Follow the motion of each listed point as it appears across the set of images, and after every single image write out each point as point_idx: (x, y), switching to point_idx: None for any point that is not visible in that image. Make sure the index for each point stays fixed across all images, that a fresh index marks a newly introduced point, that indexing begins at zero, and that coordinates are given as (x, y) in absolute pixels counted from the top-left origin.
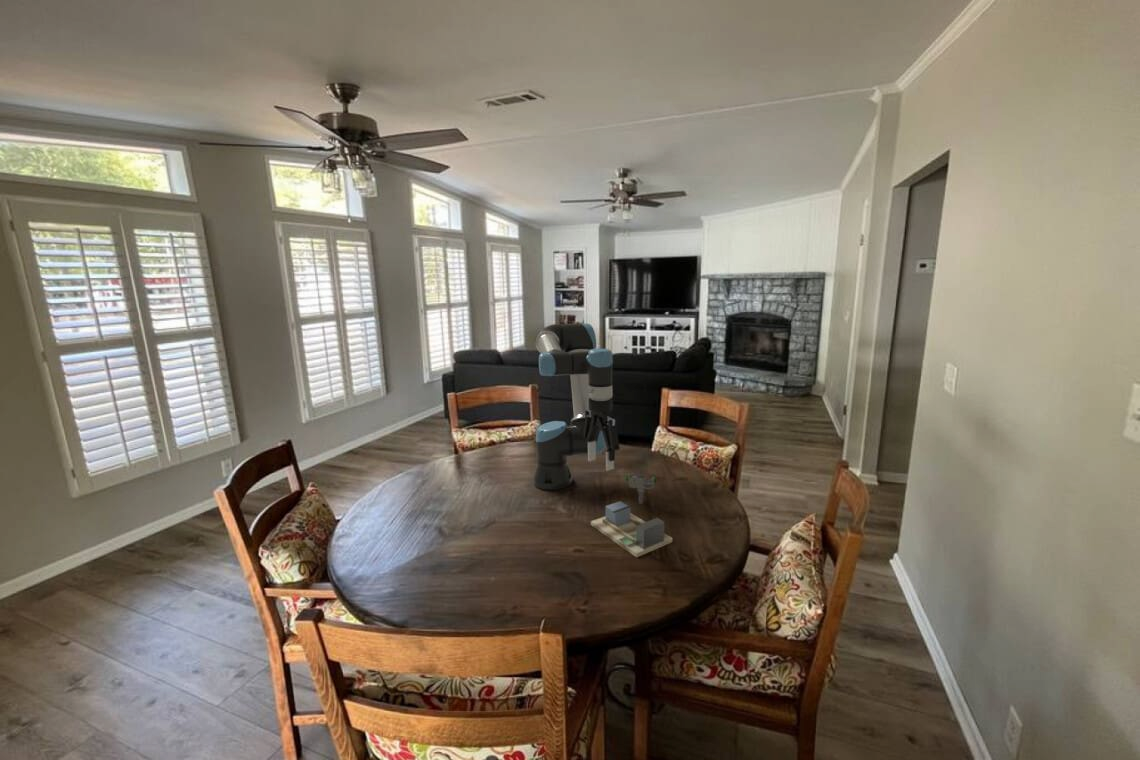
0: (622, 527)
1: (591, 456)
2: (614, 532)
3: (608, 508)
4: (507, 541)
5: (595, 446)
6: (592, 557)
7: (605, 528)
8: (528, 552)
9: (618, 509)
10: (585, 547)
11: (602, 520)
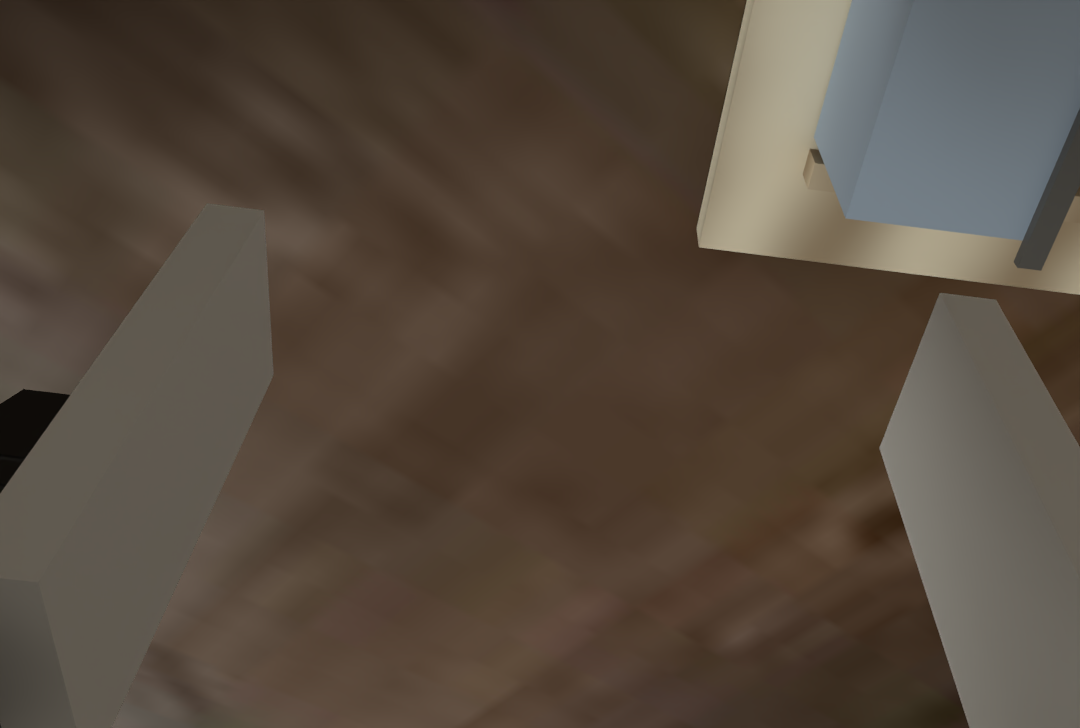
0: None
1: (239, 386)
2: None
3: (907, 223)
4: (447, 709)
5: (124, 439)
6: None
7: (909, 238)
8: (643, 699)
9: (1056, 185)
10: None
11: (806, 183)
